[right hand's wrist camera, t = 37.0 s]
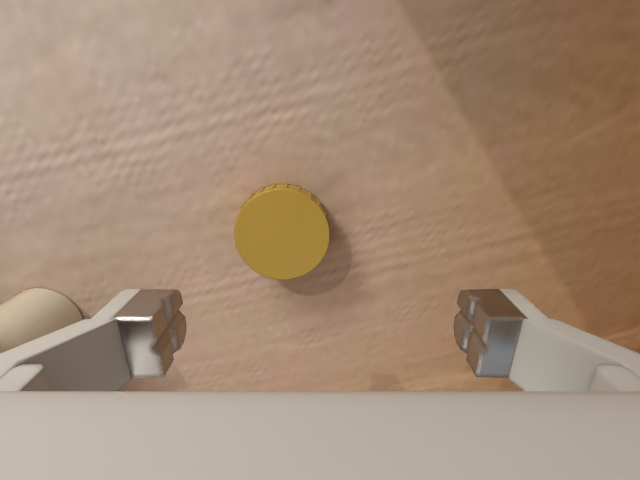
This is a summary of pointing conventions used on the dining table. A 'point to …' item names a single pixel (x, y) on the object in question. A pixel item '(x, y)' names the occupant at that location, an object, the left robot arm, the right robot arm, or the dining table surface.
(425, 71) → the dining table surface
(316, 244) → the lid
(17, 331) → the bottle
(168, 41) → the dining table surface
